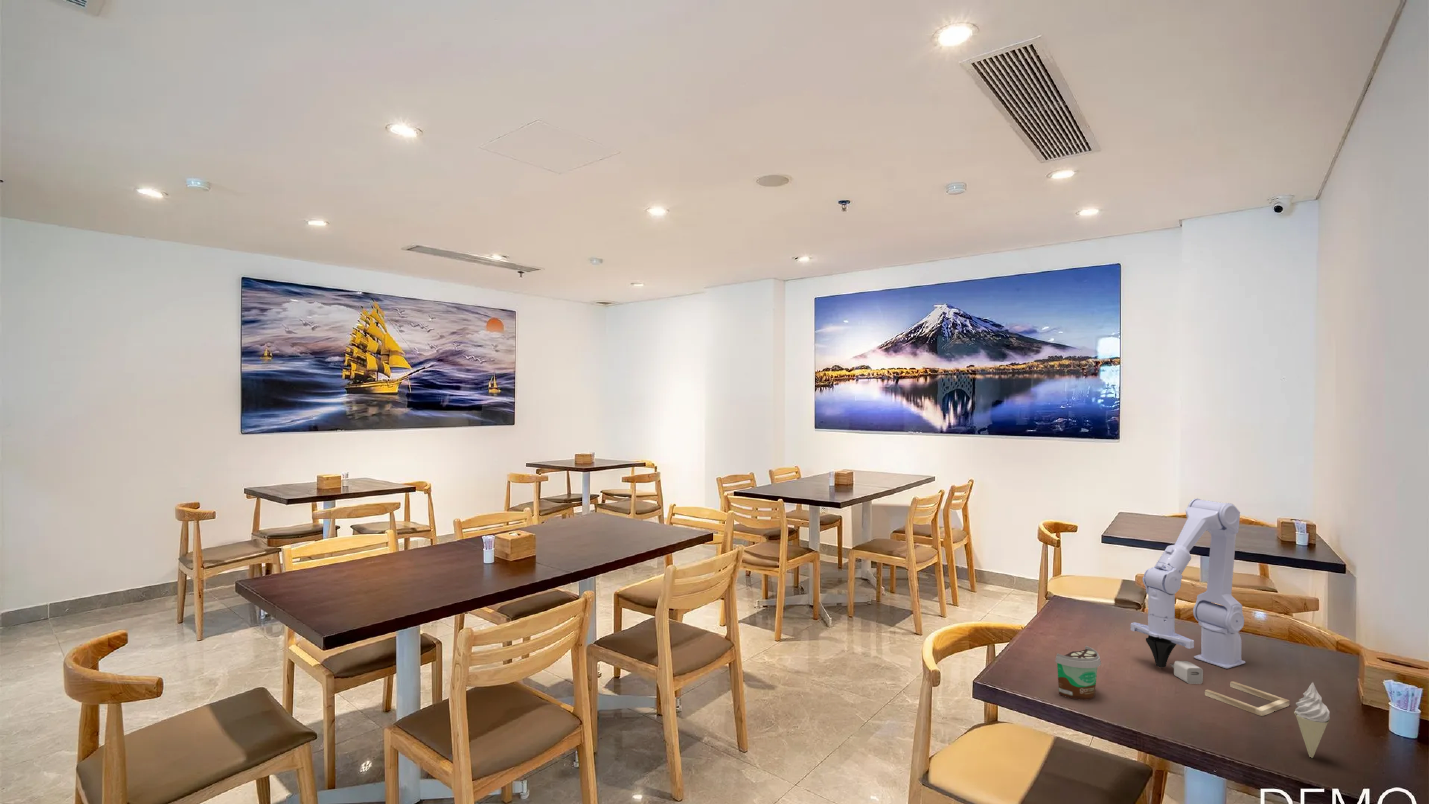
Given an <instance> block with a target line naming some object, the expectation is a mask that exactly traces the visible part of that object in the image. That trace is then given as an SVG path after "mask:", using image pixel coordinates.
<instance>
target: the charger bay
mask: <svg viewBox="0 0 1429 804" xmlns="http://www.w3.org/2000/svg"><path fill="white" fill-rule="evenodd" d="M1229 686H1230V688H1233V689H1235V690H1237V691H1241V692H1244V693H1247V694H1250V695H1253V696H1255V697H1258V698H1261V699H1263V700H1266V701H1269V702H1270V703H1267V704H1264V705H1262V706H1261V705H1260V706H1254V705H1251V704H1249V703H1247V702H1244V701H1241V700H1238V699H1235V698H1233V697H1230V696H1227V695H1225V694H1221V693H1219V692H1217V691H1213V690H1210V689H1205V690H1204V696H1206V697H1209V698H1211V699H1213V700H1217V701H1219V702H1222V703H1225V704H1227V705H1230V706H1233V707H1236V708H1238V709H1240V710H1243V711H1245V712H1246V711H1247V712H1249V713H1252V714H1254V715H1257V716H1260V717H1264V716H1267V715H1270V714H1272V713H1275V712H1277V711H1279V710H1280V711H1281V710H1282V709H1285V708H1286V707H1290V706H1291V705H1290V704H1291V703H1290V701H1291V700H1289V699H1287V698H1283V697H1280V696H1277V695H1275V694H1273V693H1272V694H1271V693H1269V692H1266V691H1264V690H1260V689H1257V688H1254V687H1251V686H1249V685H1245V684H1242V683H1239V682H1237V681H1230V683H1229ZM1289 705H1290V706H1289ZM1274 711H1275V712H1274Z"/></svg>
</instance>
